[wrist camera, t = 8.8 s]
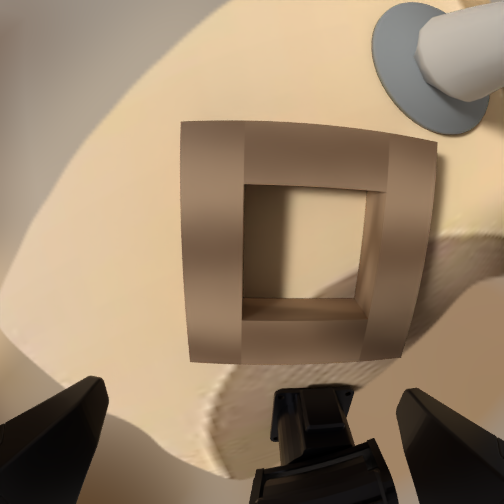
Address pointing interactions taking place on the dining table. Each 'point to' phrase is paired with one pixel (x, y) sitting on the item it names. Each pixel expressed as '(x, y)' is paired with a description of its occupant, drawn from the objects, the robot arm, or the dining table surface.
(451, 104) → the slate coaster
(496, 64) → the salt shaker
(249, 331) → the walnut frame
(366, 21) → the dining table surface
